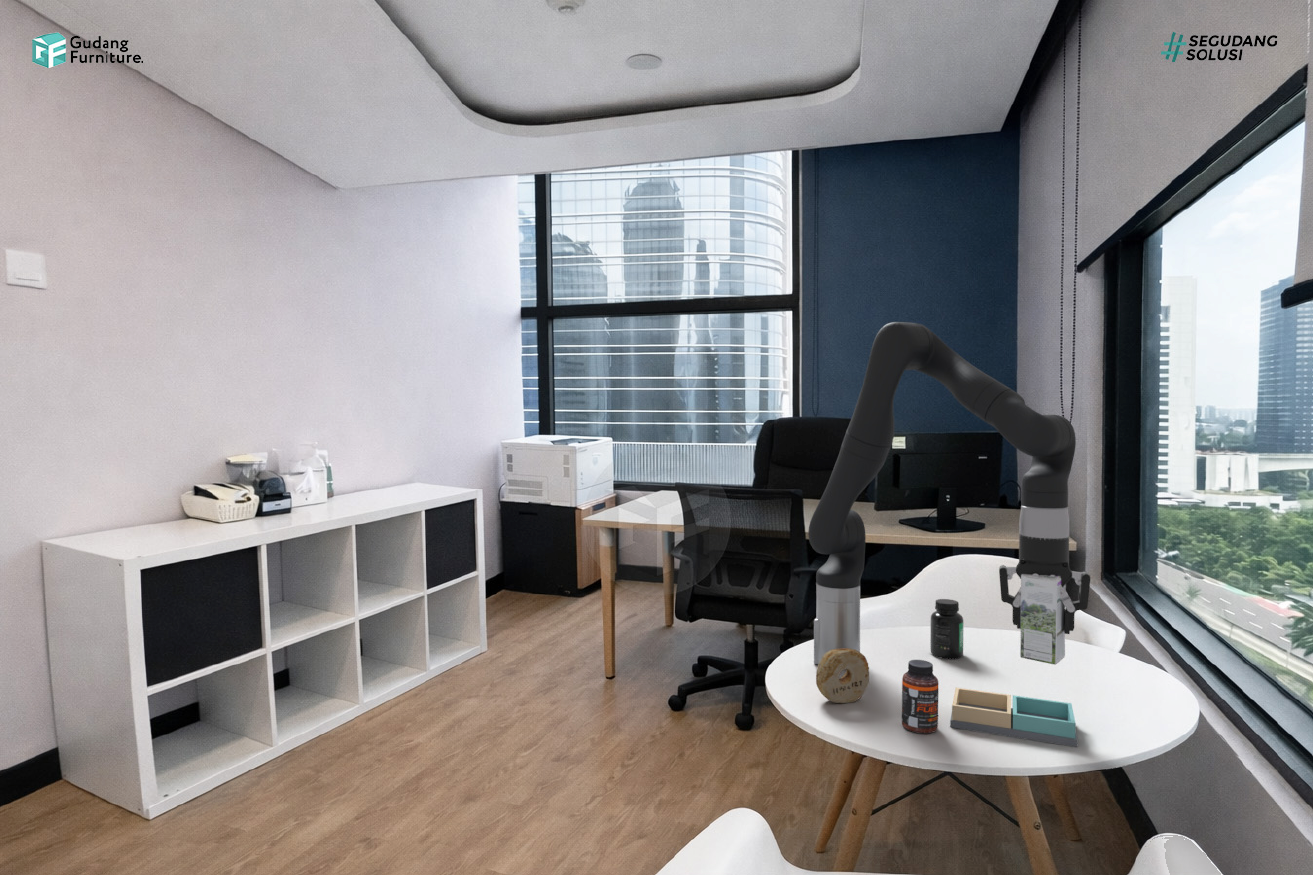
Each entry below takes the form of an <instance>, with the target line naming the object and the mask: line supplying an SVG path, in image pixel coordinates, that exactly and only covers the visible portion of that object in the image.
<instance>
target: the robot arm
mask: <svg viewBox="0 0 1313 875" xmlns="http://www.w3.org/2000/svg"><path fill="white" fill-rule="evenodd" d="M913 370H914V371H917V372H920V373H922V374H925V375H927V376H929V377H931V378H933V379H934V380H936V381H938V382H939V383H941V384H942V385H943V386H945V388H946V389H947V390H948V391H949V392H950V393H951V394H952V396H953V397H954V398H955V399H956V400H957V402H959V404H960V405H962V406H963V407H964V408H965V409H966V410H968V411H969V412H971V414H973V415H975V416H976V417H978V418H980V420H982V421H983V422H985V423H987V424H988V425H990V426H992V427H993V428H995V430H997V432H998V433H999V435H1001V436H1002V437H1003V438H1004V439H1005V440H1006V441H1007V442H1008V443H1010V445H1012V447H1014V448H1015V449H1017V450H1018V451H1020V452H1021V453H1023V454H1025V455H1028V456H1029V457H1032V458H1031V464H1030V465H1031V466H1030V469H1029V470H1027V472H1026V473H1024V474H1023V476H1022V479H1021V487H1020V488H1021V491H1020V492H1021V497H1020V498H1021V499H1020V505H1021V506H1020V514H1019V525H1018V530H1019V531H1018V533H1019V537H1018V538H1019V539H1018V542H1019V543H1018V563H1017V565H1016V566H1006V565H1004V564H1001V565H1000V566H999V567H998V568H999V569H998V570H999V572H998V573H999V575H998V576H999V584H1000V585H999V586H1000V600H1001V601H1002V602H1003V603H1007V604H1009V605H1011V607H1012V624H1013V626H1016V630H1017V629H1018V630H1021V586H1019V589H1018V591H1017V592H1016V594H1015V595H1014V596H1013V595H1011V594H1010V592H1009V581H1010V580H1013V576H1014V575H1015V574H1017V576H1018V577H1019V579H1020V580H1021V575H1022V574H1031V576H1039V575H1049V577H1056V576H1060V578H1061V584H1060V599H1061V601H1062V602H1063V604H1064V605H1065V609H1064V633H1065V635H1070V633H1071V632H1073V631H1074V629H1075V613H1076V612H1077V611H1080V610H1083V611H1085V610H1087V609H1088V605H1089V598H1090V597H1089V596H1090V585H1091V576H1090V574H1089V572H1088V571H1074V570H1072V569H1071V568H1070V532H1071V531H1070V530H1071V529H1070V516H1069V485H1068V484H1069V477H1070V474H1071V471H1072V467H1073V462H1074V461H1073V460H1074V458H1075V452H1076V445H1077V443H1076V440H1077V439H1076V432H1075V429H1074V426H1073V424H1072V422H1071V421H1070V420H1068V419H1067V418H1066V417H1064V416H1062V415H1058V414H1041V413H1039V412H1038V411H1036V410H1034V409H1032V408H1031V407H1029V406H1028V405H1027V404H1026V401H1025V399H1024V398H1023V397H1022V396H1021V395H1020V394H1019V393H1018V392H1016V391H1015V390H1013V389H1012V388H1010V387H1008V386H1007V385H1005V384H1004V383H1002V382H1000V381H998V380H997V379H995V378H994V377H992V376H990V375H988V374H986V373H985V372H983V371H982V370H980V369H979V368H978V367H976V366H974V365H973V364H971V363H970V362H969V361H967V360H966V359H964V358H963V357H962V356H960V354H958V353H957V352H956V351H954V349H952V348H951V347H949V346H948V345H947V344H946V343H945V342H944V341H943V340H942V339H941V338H940V337H939V336H938V335H937V334H935V333H934V332H933V331H932V330H931V329H929V328H928V327H926V326H925V325H924V324H921V323H917V322H907V321H905V322H903V321H893V322H892V321H891V322H889V323H886V324H885V325H883V326H882V327H881V328H880V329H879V330H878V332H877V333H876V336H875V338H874V340H873V343H872V347H871V350H870V353H869V358H868V363H867V367H866V370H865V373H864V374H865V375H864V379H863V382H862V387H861V389H860V392H859V395H858V398H857V400H856V401H857V402H856V404H855V408H854V410H853V414H852V416H851V419H850V421H849V424H848V427H847V429H846V432H845V433H844V434H845V435H844V437H843V440H842V443H841V446H840V450H839V454H838V456H837V459H836V461H835V464H834V467H833V468H832V469H833V470H832V471H831V475H830V477H829V480H828V483H827V485H826V487H825V489H824V491H823V494H822V495H821V497H820V500H819V501H818V504H817V506H816V509H815V510H814V511H813V515H812V516H811V519H810V522H809V526H808V534H807V535H808V540H809V544H810V546H811V547H812V549H813V550H814V551H815V552H816V553H818V554H821V555H829V557H828V559H827V561H826V562H825V563H824V564H823V565H822V566H820V567H819V568H818V569H817V571H816V573H815V574H816V576H815V579H816V582H815V585H816V591H815V593H816V603H815V604H816V607H815V608H816V612H815V613H816V617H815V618H814V620H813V664H815V665H818V664H819V662H820V660H821V659H822V657H823V655H824V654H825V653H826V652H828V651H830V650H833V649H841V648H849V649H854V650H856V651H858V652H860V653H861V578H862V575H863V573H864V569H865V556H866V555H865V554H866V528H865V527H866V526H865V524H864V521H863V519H862V517H861V515H860V514H859V513H858V512H856V511H855V510H853V509H852V507H853V505H854V503H855V501H856V500H857V498H858V497H859V495H861V493H862V492H863V491H864V490H865V489H866V488H867V486H868V485H870V483H871V482H872V481H873V480H874V479H875V477H876V476H877V475H878V474H879V473H880V471H881V469H882V468H883V466H884V465H885V462H886V460H887V458H888V455H889V452H890V449H891V447H892V444H893V441H894V437H895V415H894V399H895V395H896V392H897V389H898V386H899V385H900V384H899V383H900V381H901V380H902V379H901V378H903V377H902V376H903V374H904V372H905V371H913ZM1071 579H1073V580H1074V581H1075V584H1076V585H1077V586H1079V590H1078V598H1077V599H1078V600H1075V601H1072V599H1071V597H1070V596H1069V594H1068V592H1067V590H1064V589H1063V587H1064V585H1065V584H1066V585H1067V584H1068V582H1070V580H1071ZM1008 580H1009V581H1008ZM1061 592H1062V593H1061Z"/></svg>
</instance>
